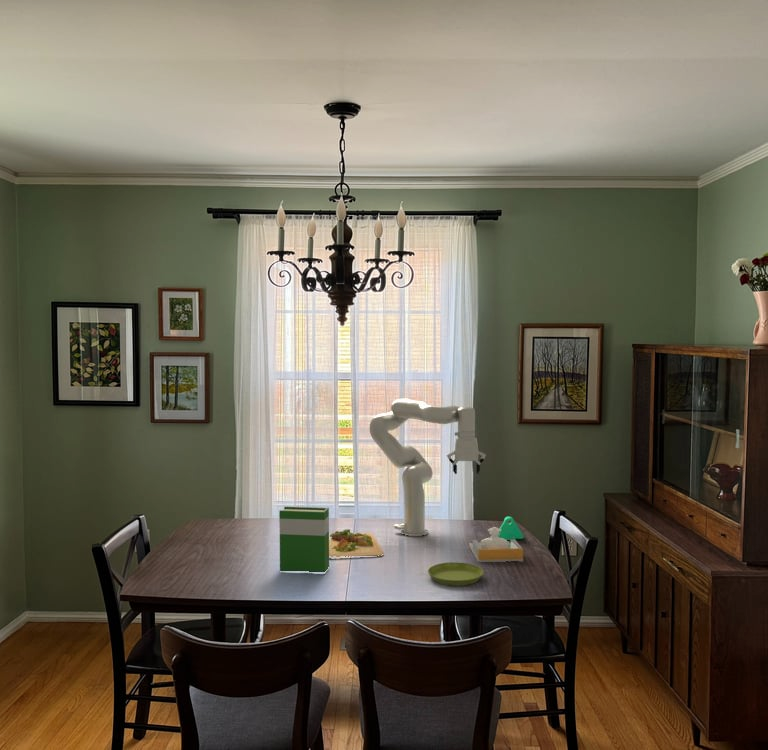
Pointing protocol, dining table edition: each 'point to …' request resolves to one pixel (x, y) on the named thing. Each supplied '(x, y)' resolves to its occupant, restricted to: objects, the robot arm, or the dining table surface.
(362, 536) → the cutting board
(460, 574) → the saucer
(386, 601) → the dining table surface
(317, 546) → the green cereal box
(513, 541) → the shallow tray
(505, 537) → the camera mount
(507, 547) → the bust
